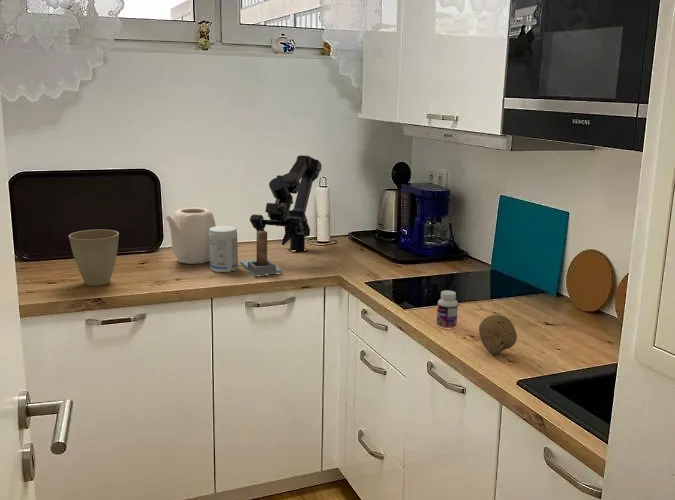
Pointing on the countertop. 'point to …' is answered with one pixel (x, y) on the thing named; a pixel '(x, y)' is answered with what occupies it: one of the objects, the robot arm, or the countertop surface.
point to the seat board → (260, 267)
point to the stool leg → (261, 248)
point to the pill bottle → (447, 310)
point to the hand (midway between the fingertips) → (270, 243)
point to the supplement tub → (223, 248)
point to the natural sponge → (497, 333)
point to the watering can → (191, 234)
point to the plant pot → (95, 254)
